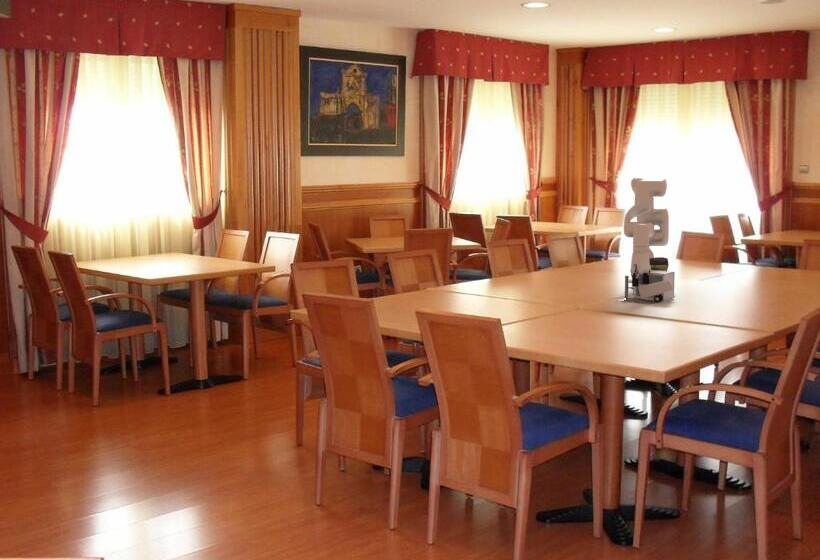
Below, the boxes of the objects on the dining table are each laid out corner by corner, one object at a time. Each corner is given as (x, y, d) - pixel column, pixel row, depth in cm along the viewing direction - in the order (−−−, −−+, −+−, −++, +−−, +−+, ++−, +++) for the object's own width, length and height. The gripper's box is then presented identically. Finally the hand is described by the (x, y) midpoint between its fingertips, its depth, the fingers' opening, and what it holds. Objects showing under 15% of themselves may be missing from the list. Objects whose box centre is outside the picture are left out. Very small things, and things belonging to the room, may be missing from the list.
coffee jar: (663, 293, 495) (664, 256, 493) (670, 295, 487) (671, 257, 485) (645, 293, 494) (646, 256, 491) (652, 295, 486) (652, 258, 484)
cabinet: (634, 297, 479) (634, 271, 478) (644, 295, 487) (644, 269, 485) (663, 300, 469) (664, 273, 467) (674, 298, 476) (674, 271, 474)
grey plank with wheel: (643, 306, 465) (674, 298, 458) (637, 286, 466) (667, 277, 459) (645, 305, 469) (676, 296, 462) (639, 285, 469) (669, 276, 462)
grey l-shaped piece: (615, 300, 471) (615, 277, 470) (627, 298, 479) (627, 275, 478) (649, 304, 459) (649, 280, 457) (661, 301, 467) (661, 278, 465)
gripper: (643, 247, 474) (642, 283, 476) (624, 250, 461) (623, 286, 464) (657, 248, 469) (656, 284, 471) (638, 251, 456) (638, 288, 458)
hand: (640, 285), depth 467 cm, fingers open, 9 cm apart
